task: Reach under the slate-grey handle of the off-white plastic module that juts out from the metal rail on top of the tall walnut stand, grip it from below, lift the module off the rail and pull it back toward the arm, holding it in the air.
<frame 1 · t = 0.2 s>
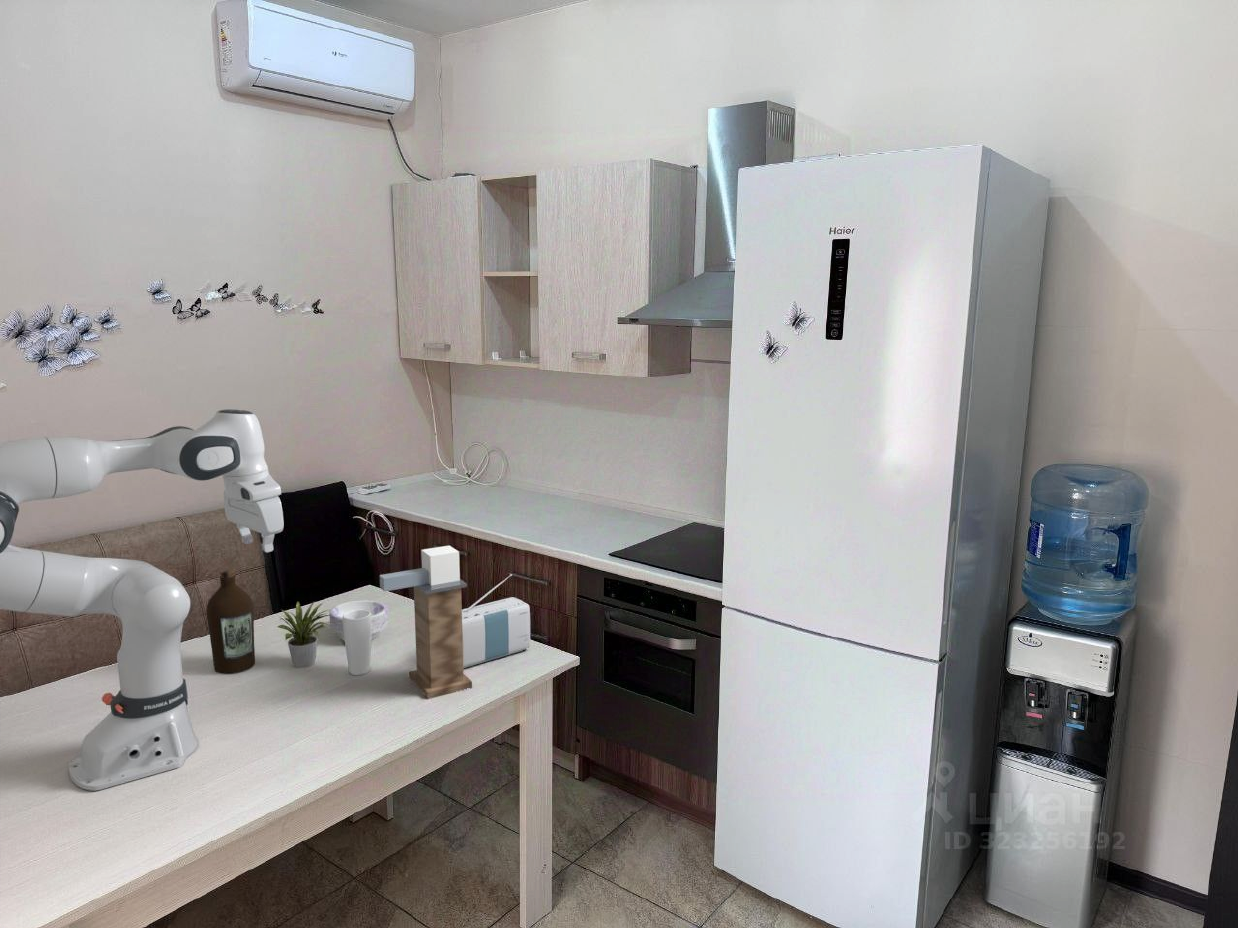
hand: (257, 546, 181), 38 cm above the table, tool pointing down, fingers open, 8 cm apart
module: (441, 579, 199), point 26 cm above the table, touching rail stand
drinking glass: (359, 672, 209), on the table
stereo radio cassette player: (489, 657, 219), on the table
paper bowls: (359, 636, 231), on the table
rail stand: (440, 682, 204), on the table
house plant: (303, 666, 212), on the table
olive oil: (234, 667, 211), on the table
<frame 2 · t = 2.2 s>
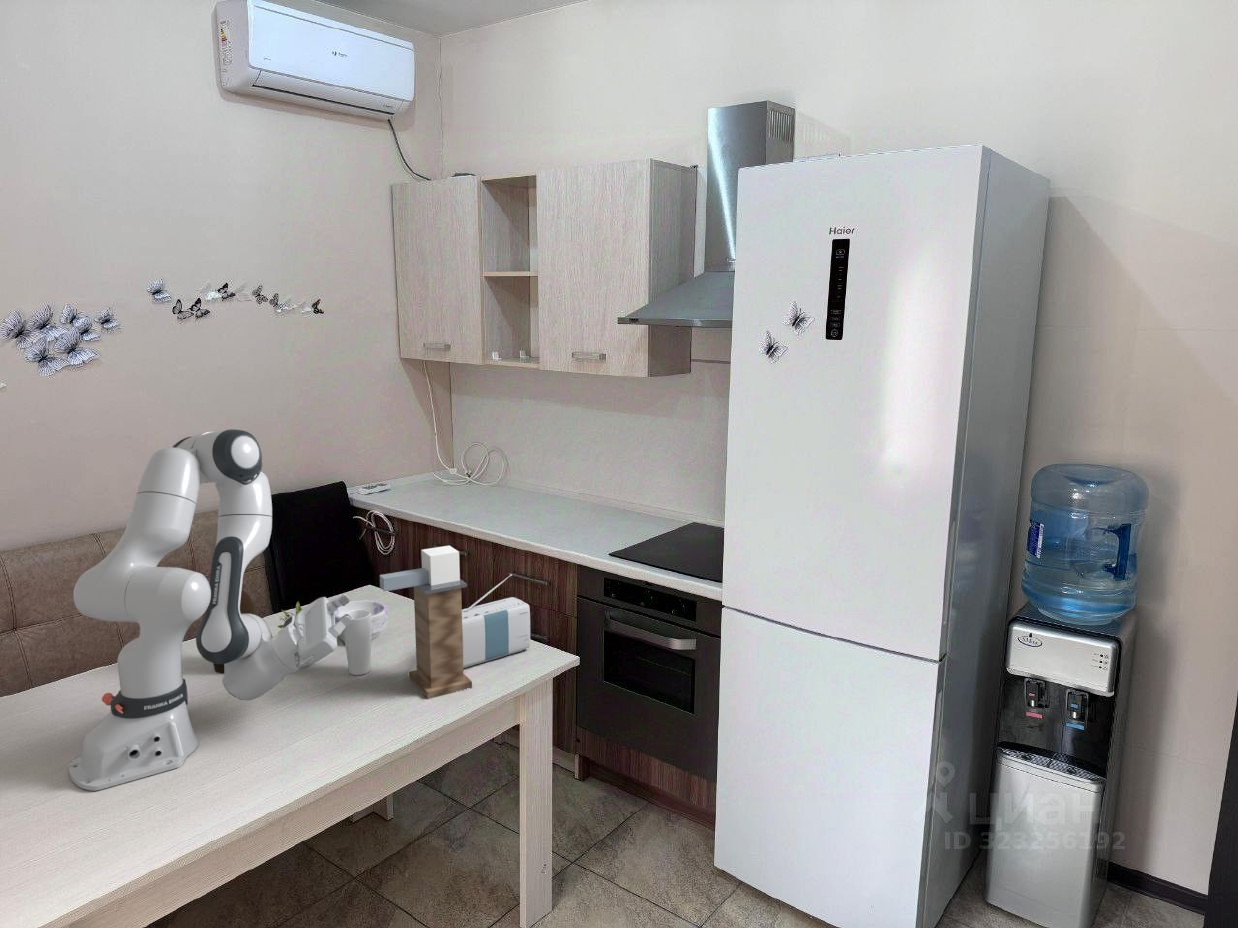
hand: (348, 607, 185), 24 cm above the table, tool pointing upward, fingers open, 8 cm apart
nothing on the table moved.
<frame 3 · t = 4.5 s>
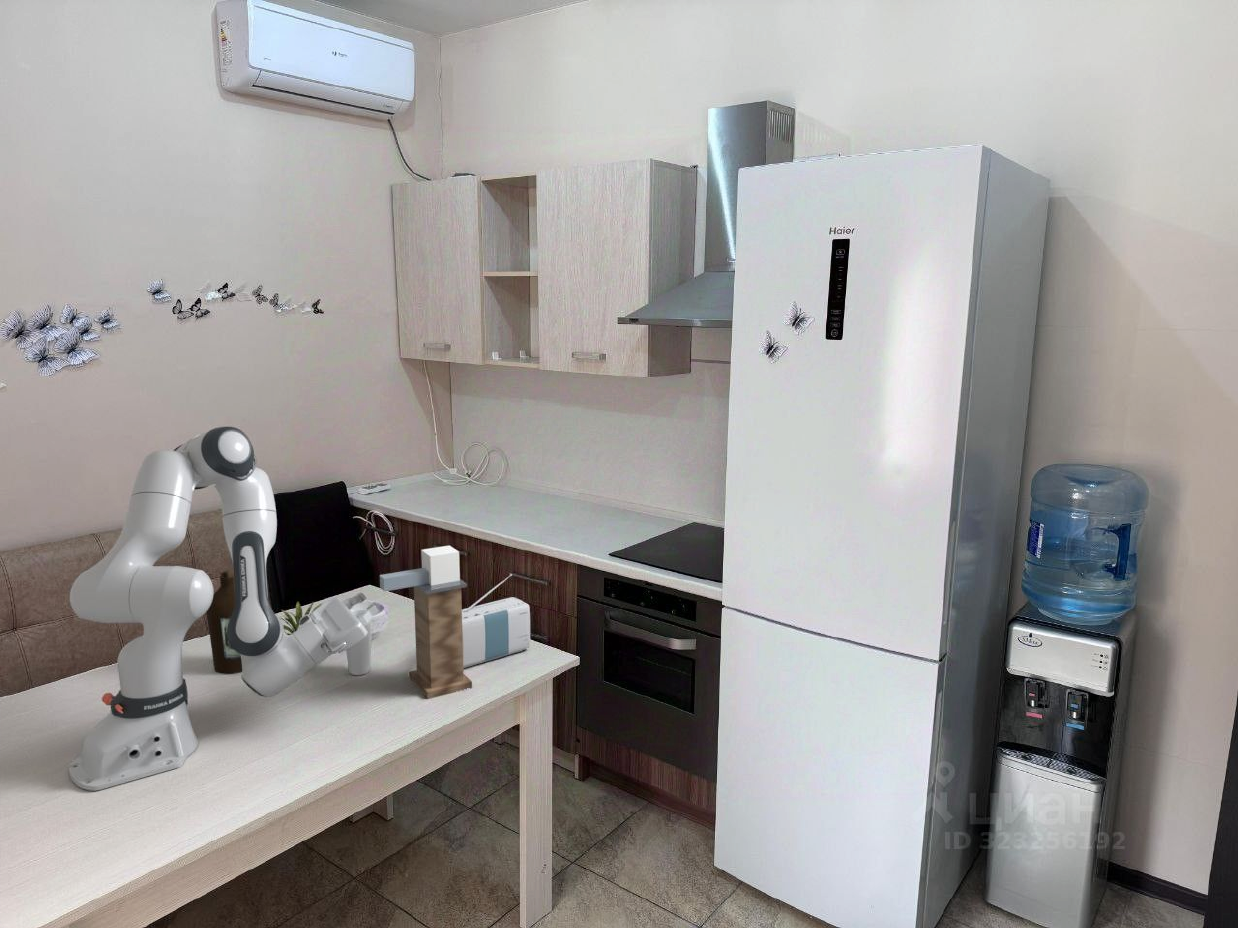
hand: (370, 600, 191), 24 cm above the table, tool pointing upward, fingers open, 8 cm apart
nothing on the table moved.
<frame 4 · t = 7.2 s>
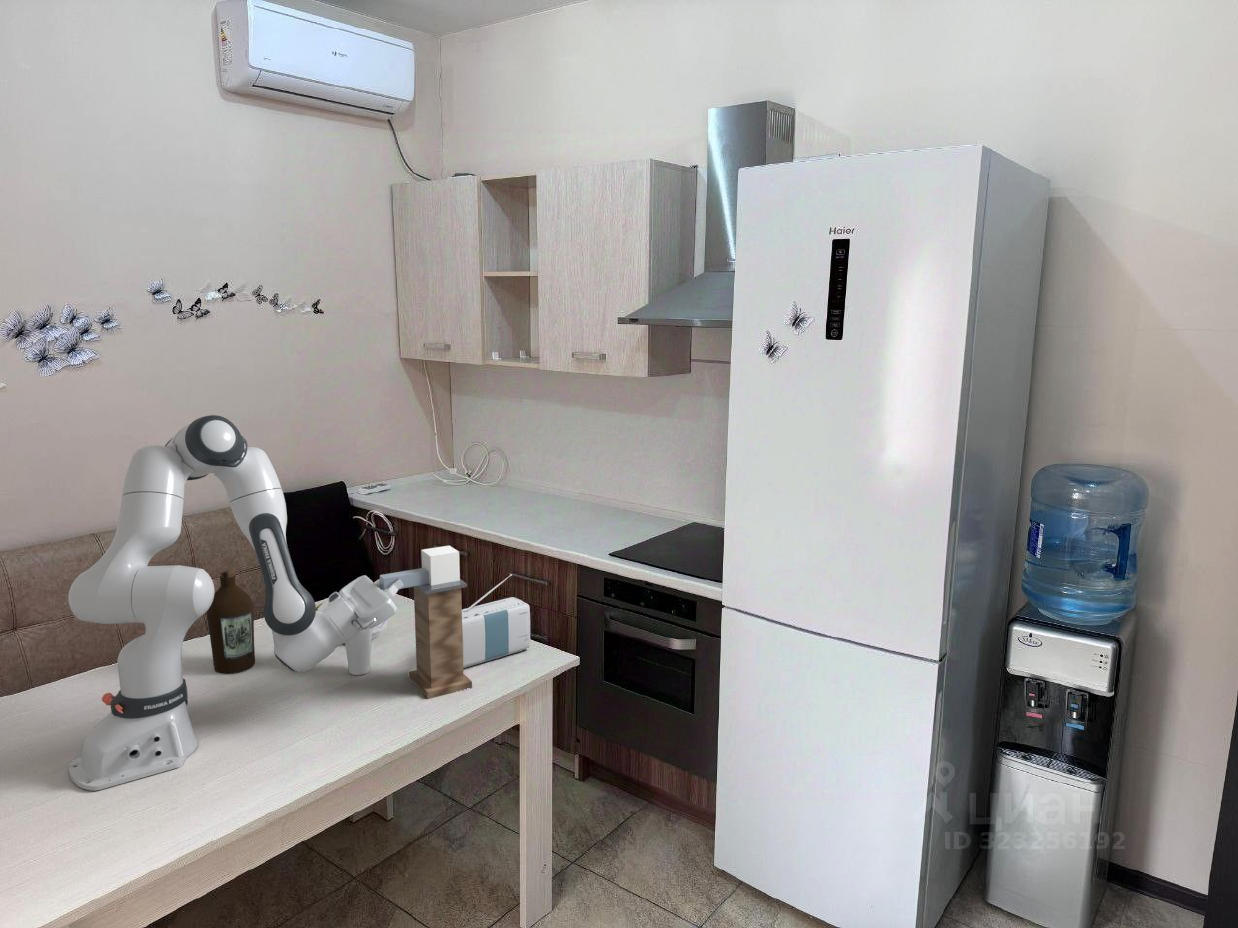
hand: (398, 578, 194), 28 cm above the table, tool pointing upward, fingers closed on module, 3 cm apart
module: (441, 579, 199), point 26 cm above the table, touching gripper, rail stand
everything else where it was.
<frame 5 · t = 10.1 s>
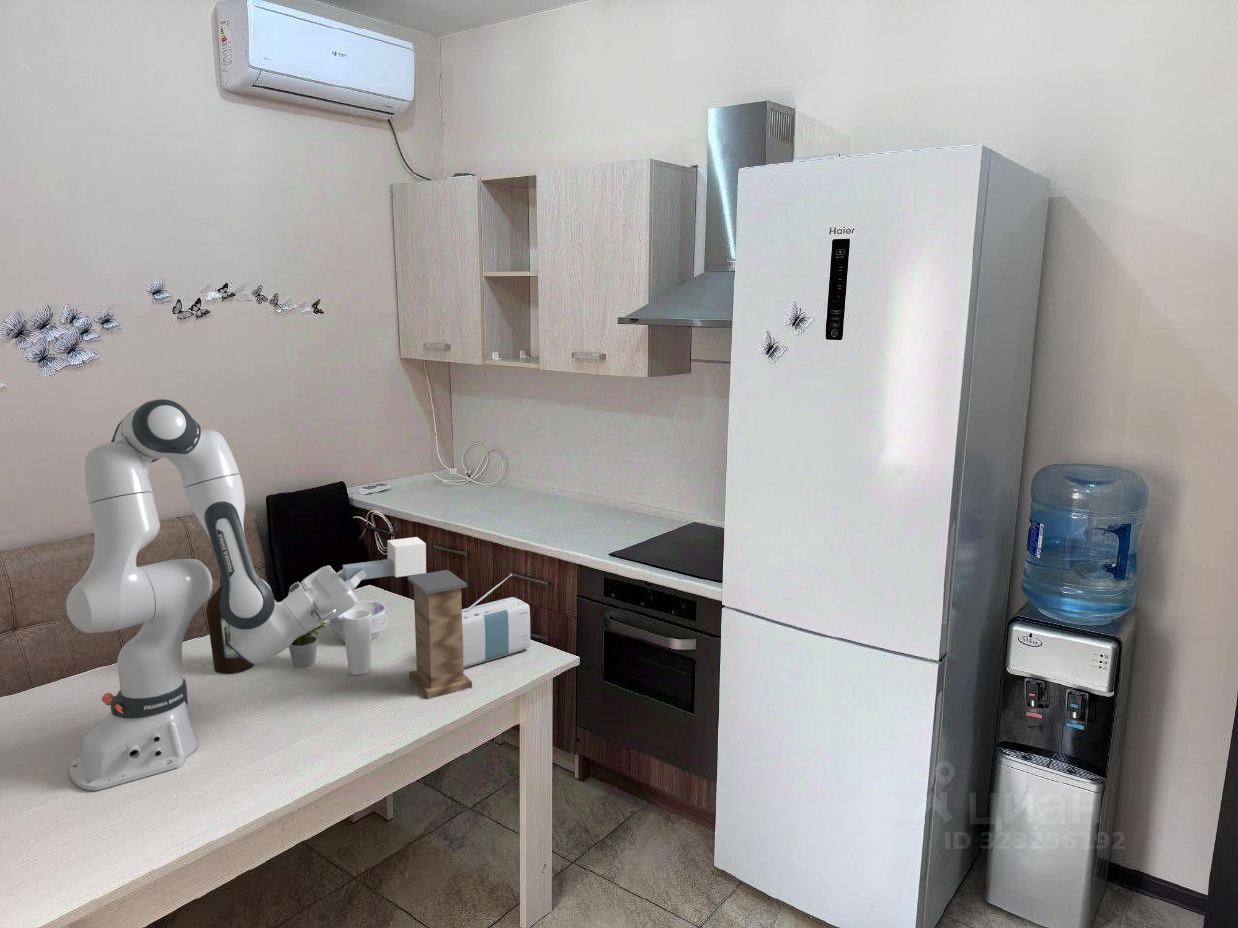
hand: (361, 569, 188), 32 cm above the table, tool pointing upward, fingers closed on module, 3 cm apart
module: (406, 571, 194), point 30 cm above the table, touching gripper
everything else where it was.
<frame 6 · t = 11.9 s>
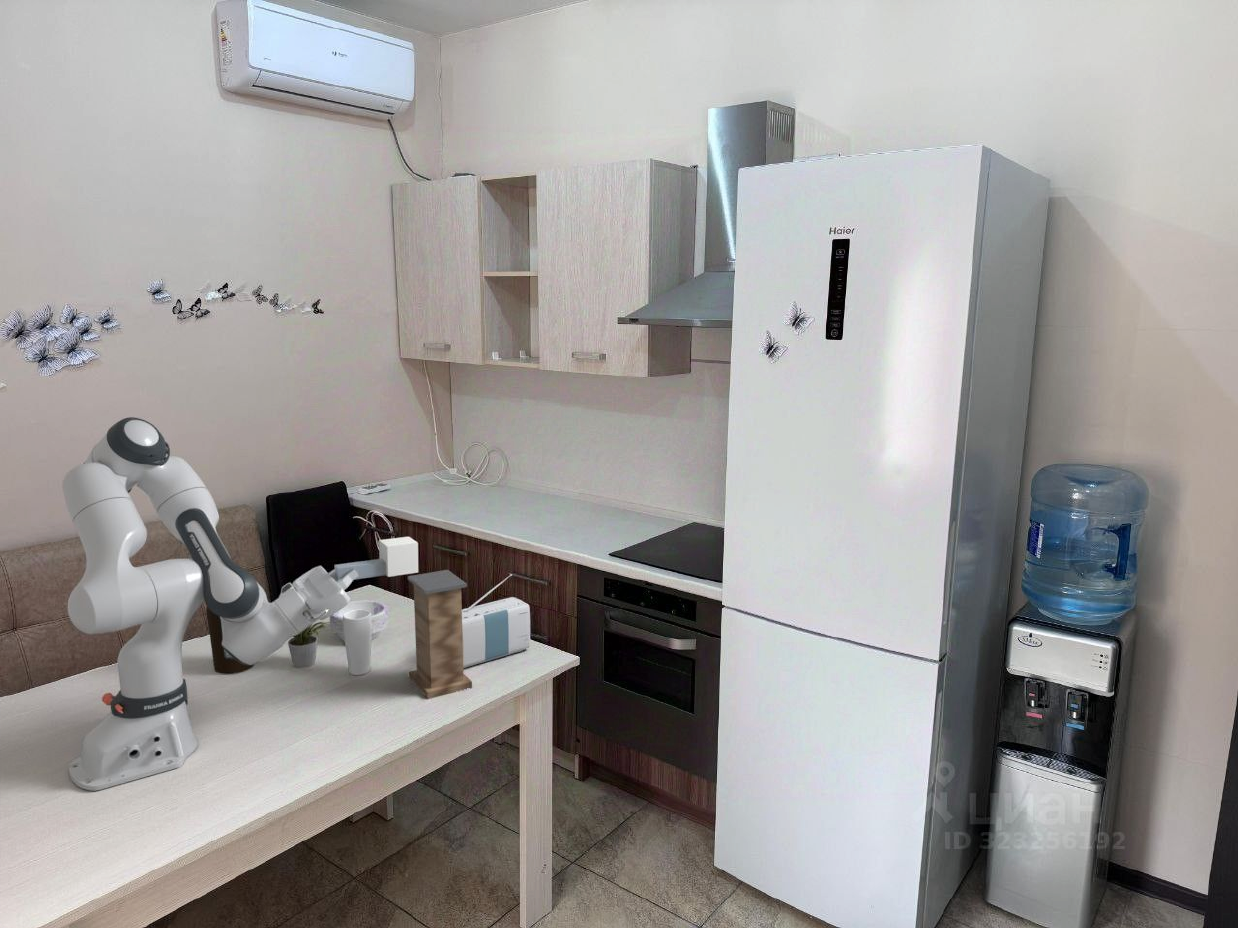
hand: (353, 568, 187), 32 cm above the table, tool pointing upward, fingers closed on module, 3 cm apart
module: (399, 570, 193), point 30 cm above the table, touching gripper
everything else where it was.
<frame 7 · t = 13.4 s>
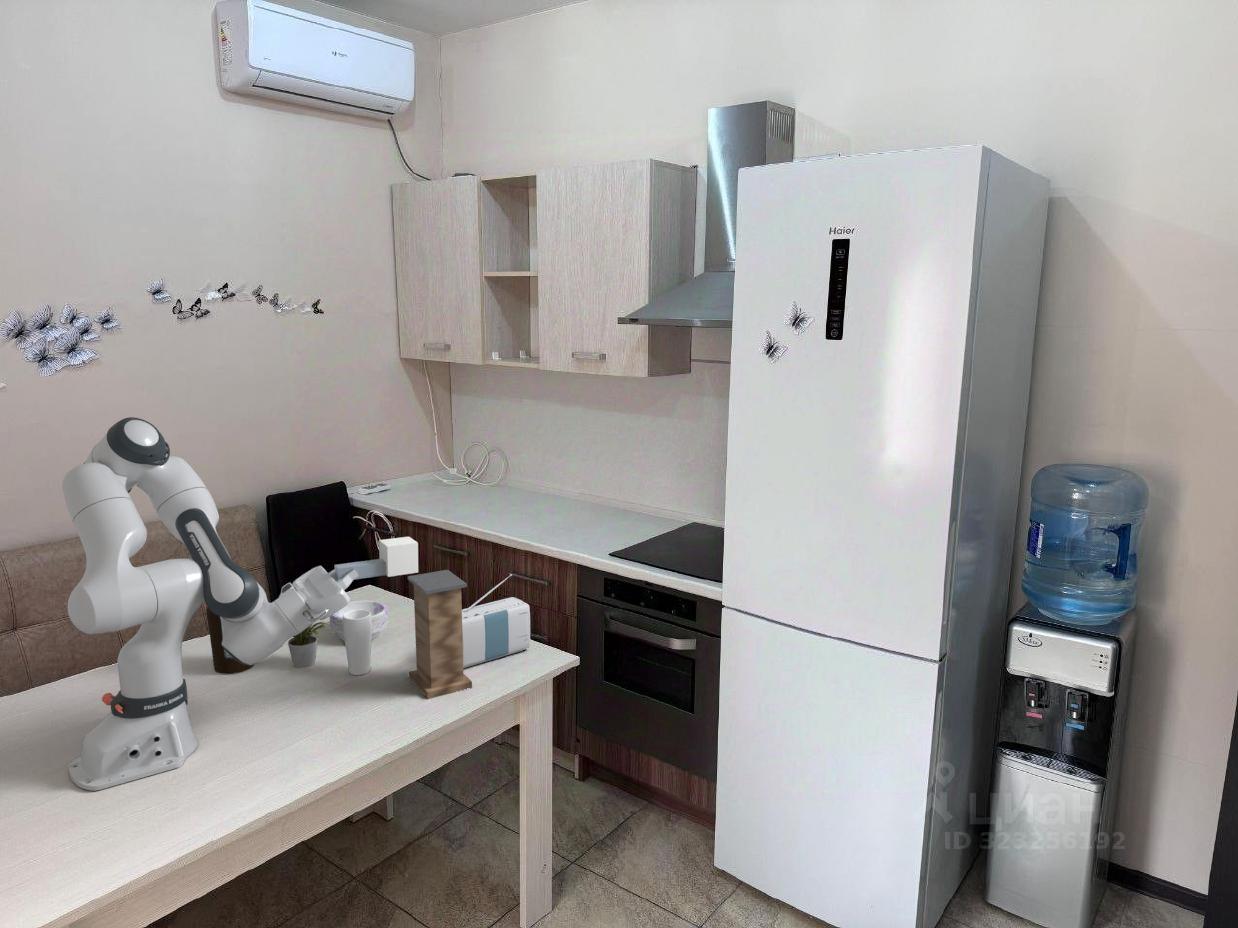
hand: (353, 568, 187), 32 cm above the table, tool pointing upward, fingers closed on module, 3 cm apart
module: (399, 570, 193), point 30 cm above the table, touching gripper
everything else where it was.
at the end: the gripper is holding module; module moved 10.6 cm from its start; module touching gripper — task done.
